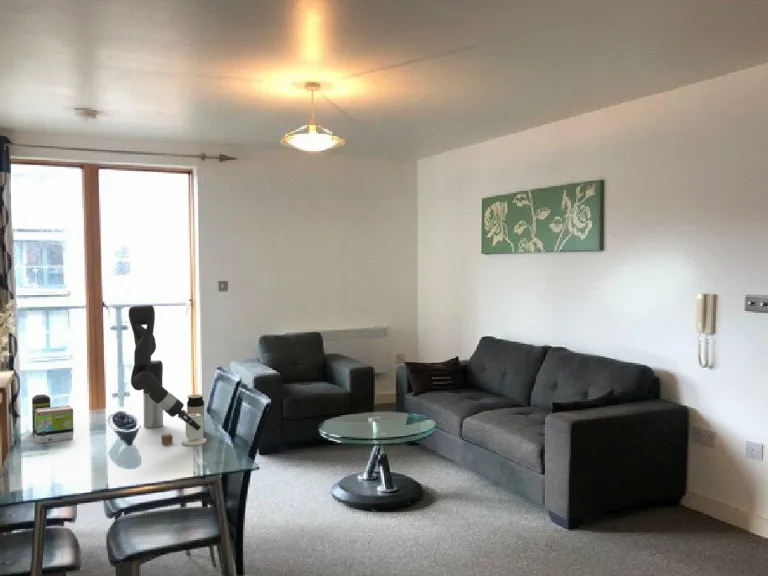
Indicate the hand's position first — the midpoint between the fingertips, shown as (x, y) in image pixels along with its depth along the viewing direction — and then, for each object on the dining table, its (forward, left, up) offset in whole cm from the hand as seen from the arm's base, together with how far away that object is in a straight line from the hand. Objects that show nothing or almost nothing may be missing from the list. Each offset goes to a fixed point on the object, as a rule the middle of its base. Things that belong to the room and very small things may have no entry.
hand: (197, 427), depth 299 cm
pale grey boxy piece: (0, -2, -4) cm, 5 cm away
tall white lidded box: (-10, +1, -7) cm, 13 cm away
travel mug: (-19, +3, -7) cm, 21 cm away
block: (-5, -13, -7) cm, 15 cm away
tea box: (-39, -58, -7) cm, 70 cm away
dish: (0, -2, -7) cm, 7 cm away
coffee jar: (-56, -63, -7) cm, 84 cm away
